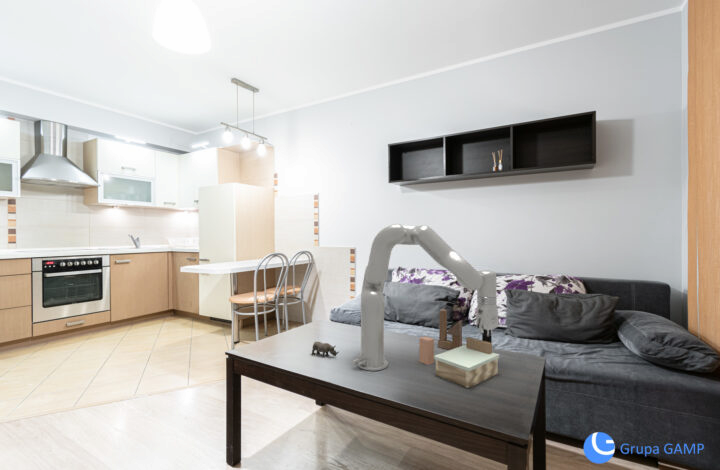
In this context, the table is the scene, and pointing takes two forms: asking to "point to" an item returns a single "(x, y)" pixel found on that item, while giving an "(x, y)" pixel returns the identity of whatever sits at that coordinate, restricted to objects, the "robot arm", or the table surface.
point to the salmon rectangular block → (426, 350)
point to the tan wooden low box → (466, 373)
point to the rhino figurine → (324, 349)
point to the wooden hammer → (449, 332)
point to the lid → (469, 355)
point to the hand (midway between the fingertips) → (486, 344)
